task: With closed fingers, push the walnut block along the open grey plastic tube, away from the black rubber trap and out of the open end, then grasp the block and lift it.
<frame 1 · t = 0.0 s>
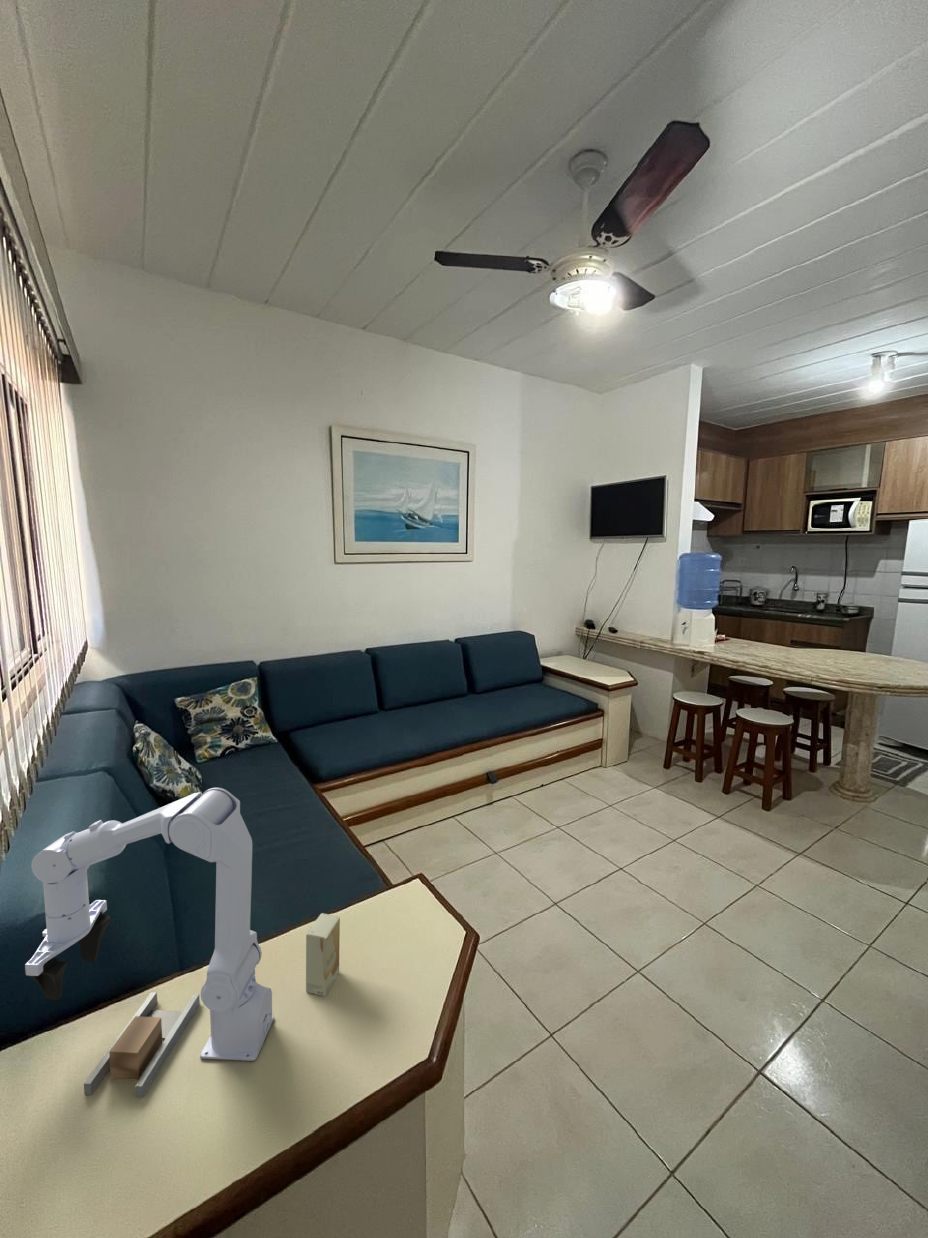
hand: (72, 978, 84), 10 cm above the table, tool pointing down, fingers open, 7 cm apart
walnut block: (137, 1060, 81), on the table
skincare box: (323, 982, 97), on the table
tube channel: (147, 1044, 83), on the table
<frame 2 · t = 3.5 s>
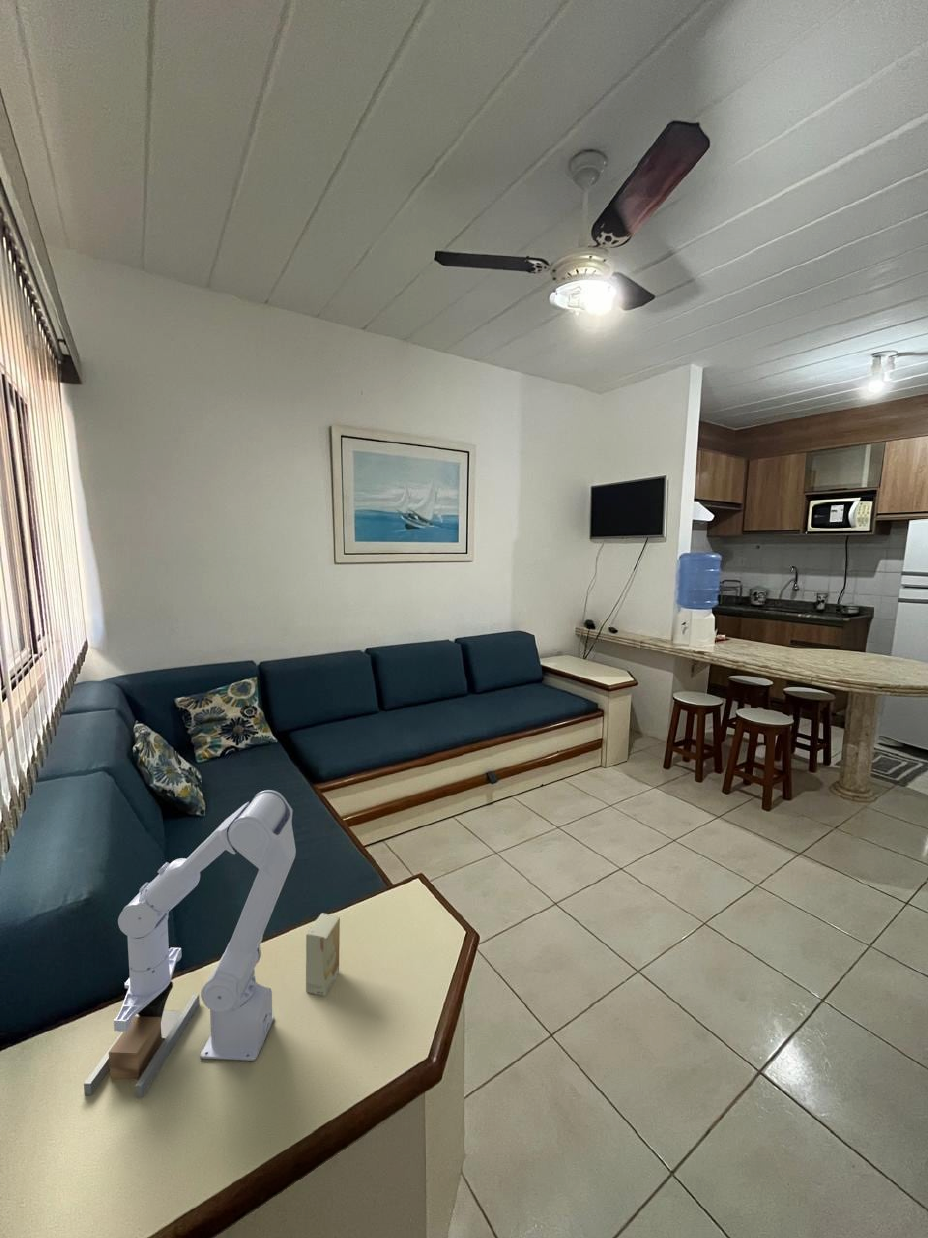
hand: (152, 1028, 84), 1 cm above the table, tool pointing down, fingers closed, pressing on walnut block
walnut block: (137, 1060, 81), on the table, touching gripper
everything else where it was.
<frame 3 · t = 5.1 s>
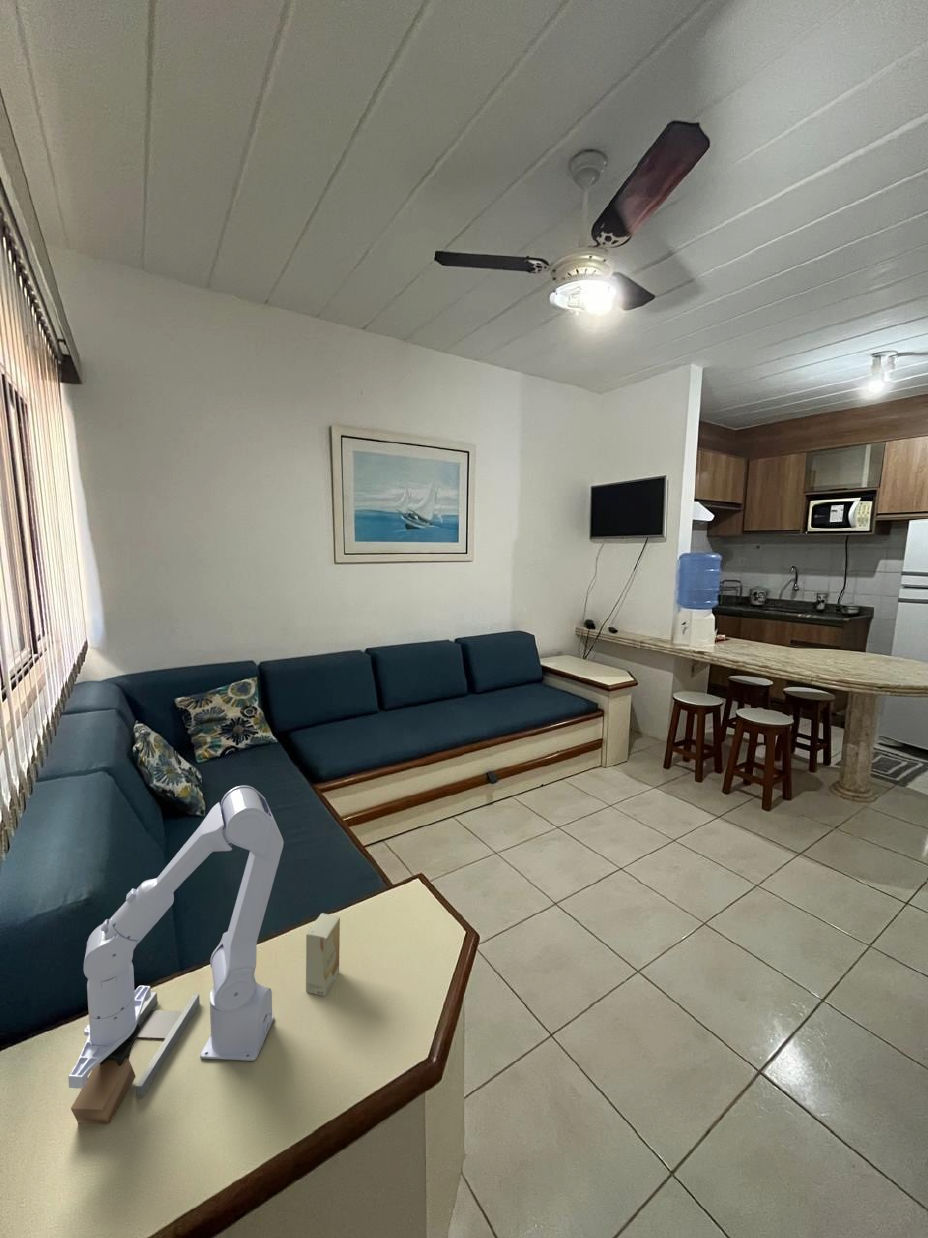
hand: (115, 1078, 76), 2 cm above the table, tool pointing down, fingers closed, pressing on walnut block
walnut block: (108, 1100, 75), on the table, tilted 16°, touching gripper
everything else where it was.
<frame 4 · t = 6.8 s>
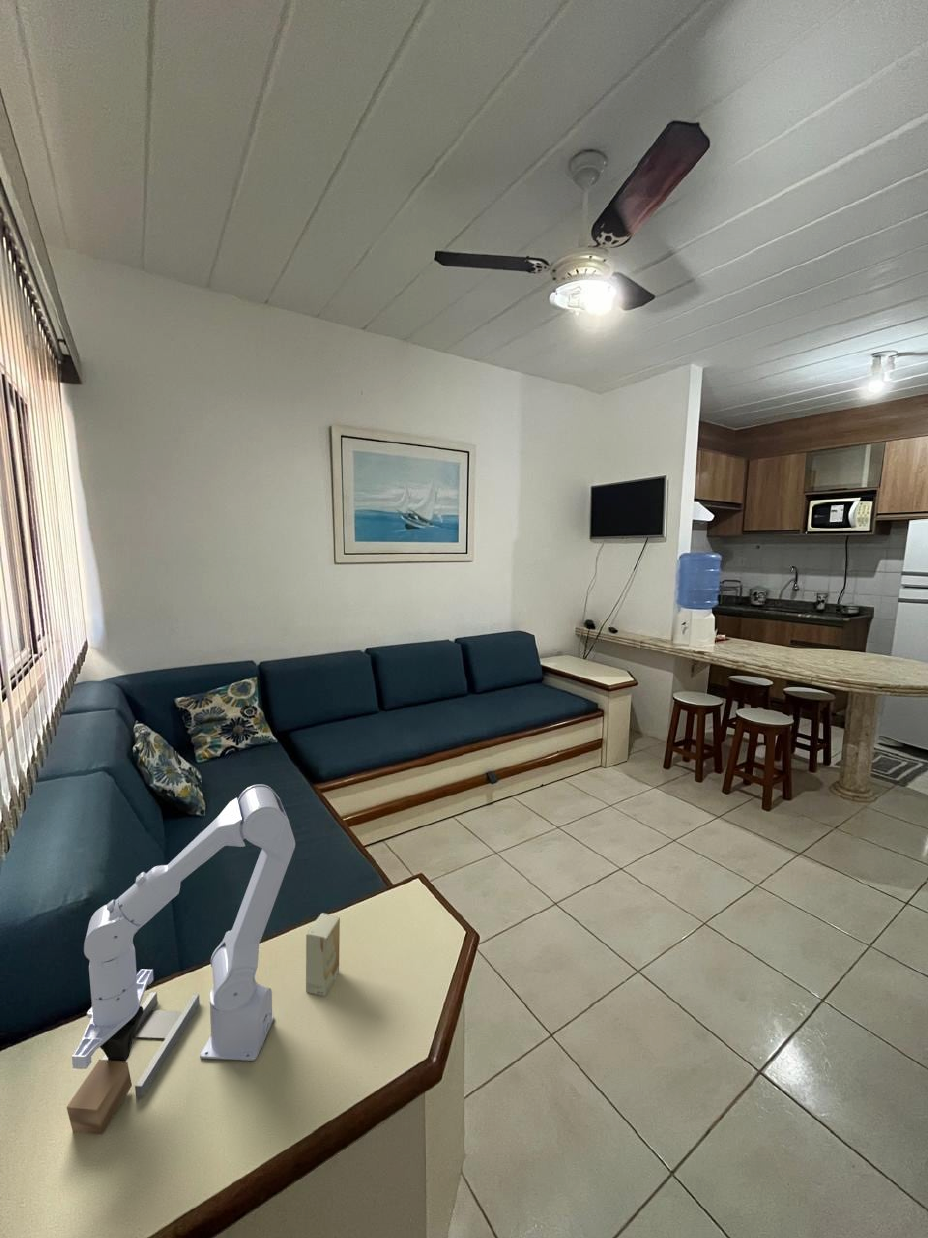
hand: (119, 1061, 76), 4 cm above the table, tool pointing down, fingers closed
walnut block: (103, 1107, 73), on the table, tilted 8°
everything else where it was.
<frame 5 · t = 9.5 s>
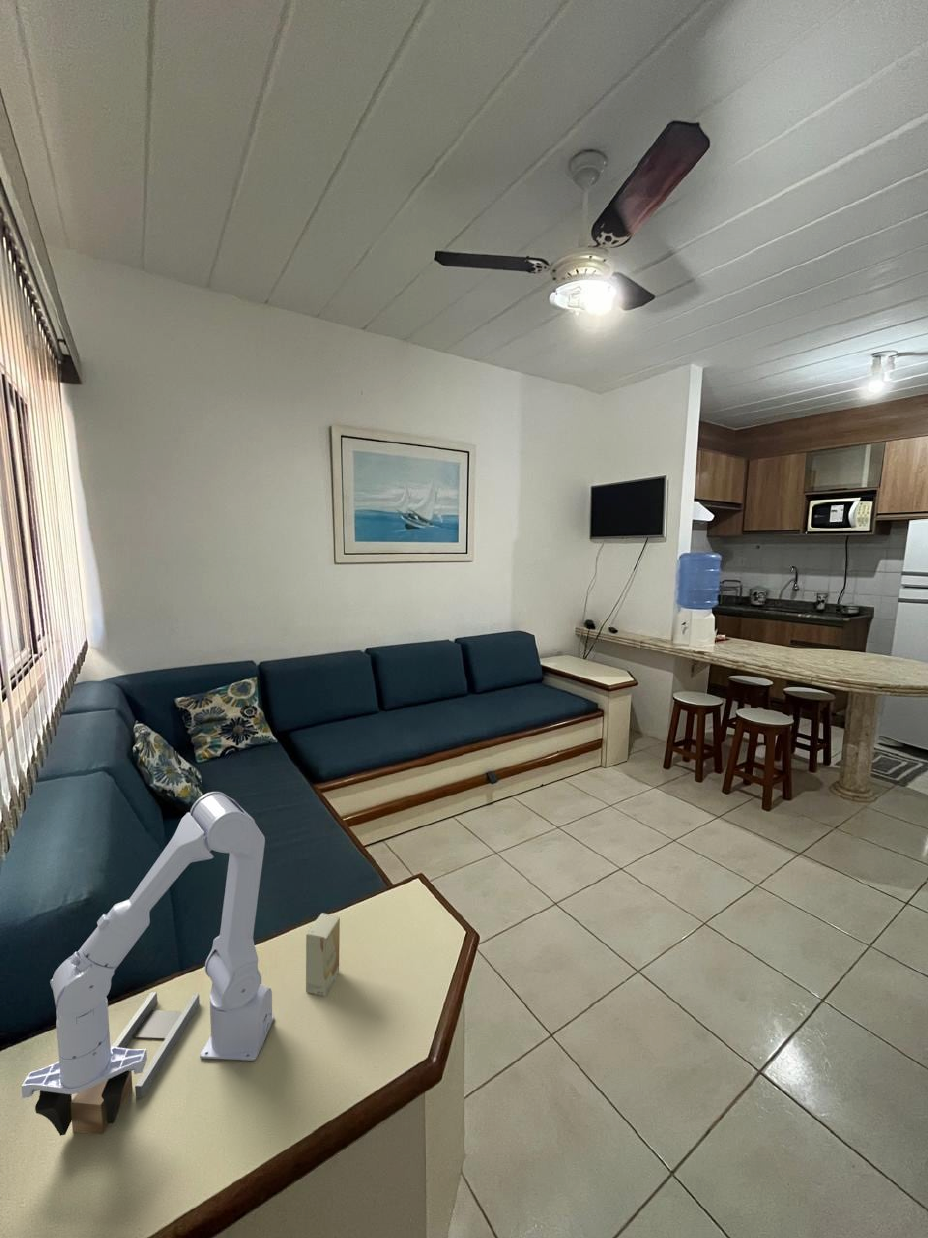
hand: (90, 1122, 70), 1 cm above the table, tool pointing down, fingers open, 5 cm apart
walnut block: (103, 1110, 73), on the table, touching gripper
everything else where it was.
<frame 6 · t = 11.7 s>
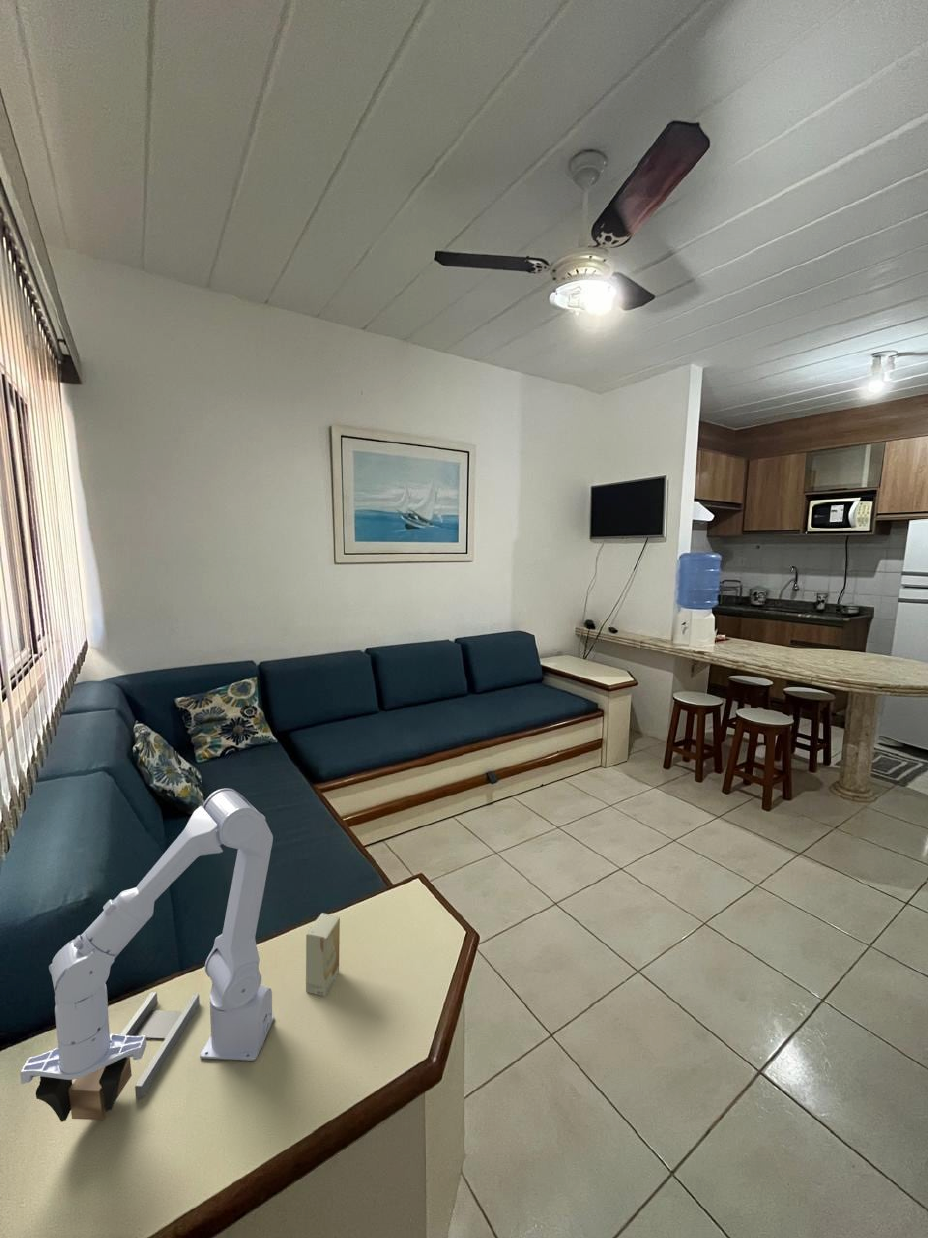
hand: (89, 1108, 70), 4 cm above the table, tool pointing down, fingers closed on walnut block, 5 cm apart
walnut block: (103, 1096, 73), point 2 cm above the table, touching gripper
everything else where it was.
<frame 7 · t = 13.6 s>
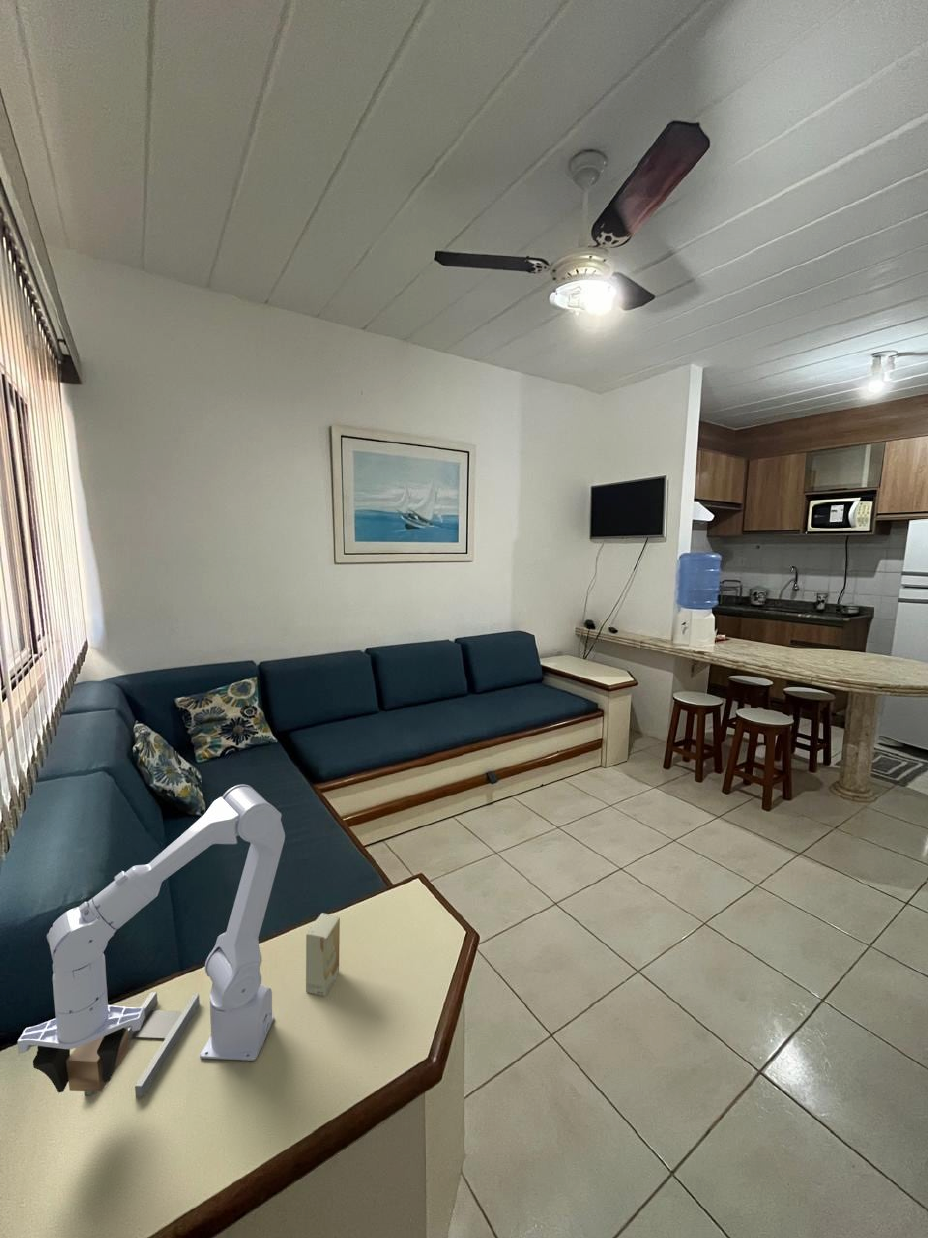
hand: (87, 1080, 70), 8 cm above the table, tool pointing down, fingers closed on walnut block, 5 cm apart
walnut block: (101, 1069, 72), point 7 cm above the table, touching gripper
everything else where it was.
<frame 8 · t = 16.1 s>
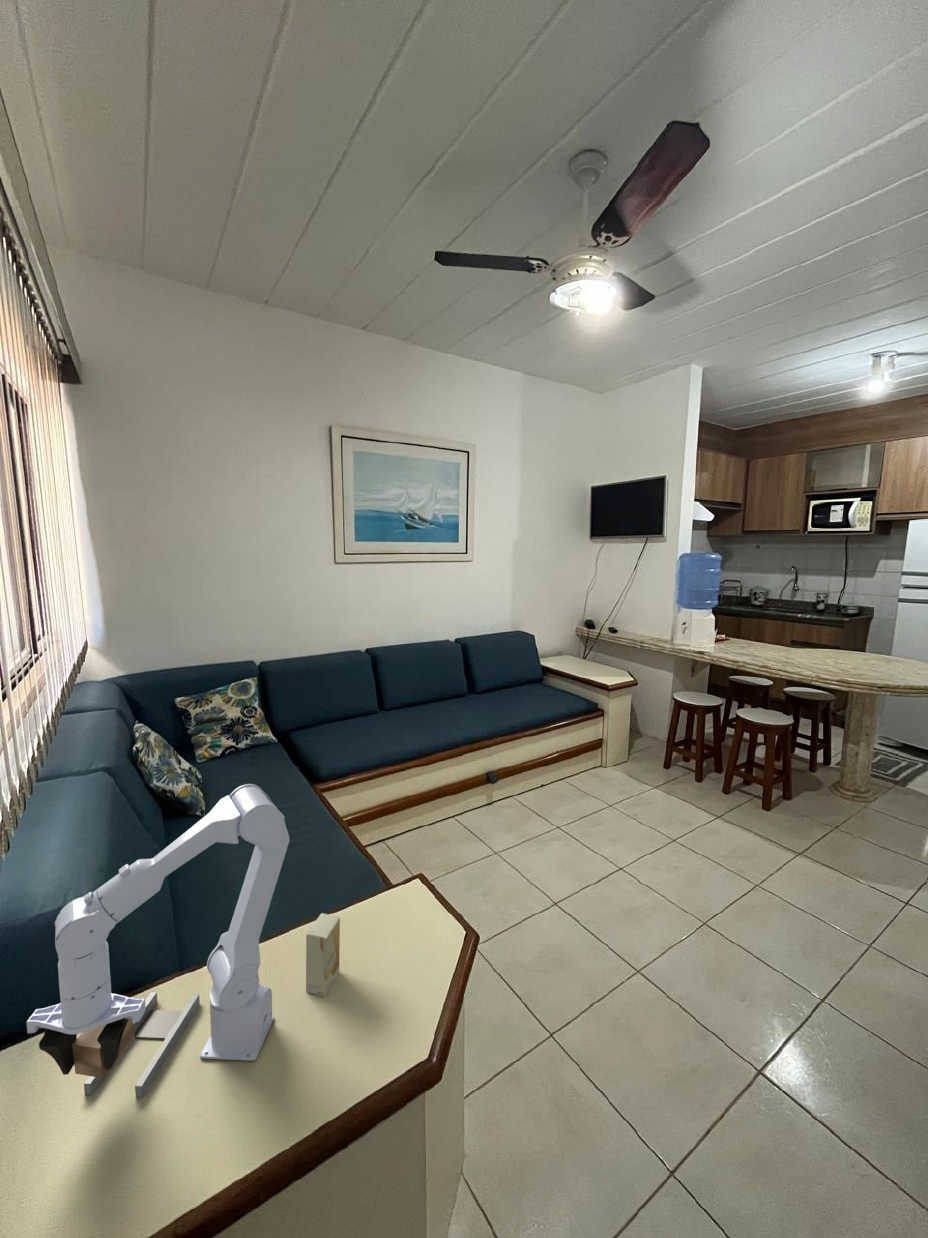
hand: (91, 1065, 72), 8 cm above the table, tool pointing down, fingers closed on walnut block, 5 cm apart
walnut block: (106, 1055, 74), point 7 cm above the table, touching gripper
everything else where it was.
at the end: walnut block point 6.9 cm above the table; the gripper is holding walnut block; walnut block moved 8.8 cm from its start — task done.
